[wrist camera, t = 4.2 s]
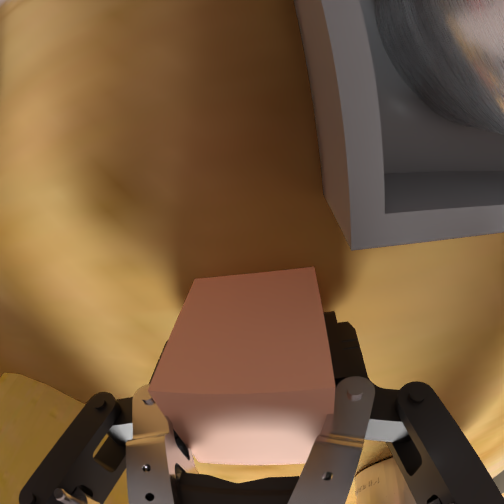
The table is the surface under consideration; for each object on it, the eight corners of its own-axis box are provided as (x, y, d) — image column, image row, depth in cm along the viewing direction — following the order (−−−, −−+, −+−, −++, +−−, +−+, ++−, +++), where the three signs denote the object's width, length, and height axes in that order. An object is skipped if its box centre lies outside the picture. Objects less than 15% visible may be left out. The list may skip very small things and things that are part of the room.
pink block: (314, 266, 12) (335, 386, 7) (318, 352, 14) (328, 460, 9) (195, 278, 13) (147, 390, 7) (220, 359, 15) (199, 462, 9)
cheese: (166, 499, 33) (149, 573, 19) (19, 426, 29) (-14, 492, 16) (229, 460, 21) (207, 606, 8) (-22, 328, 18) (-99, 434, 4)
